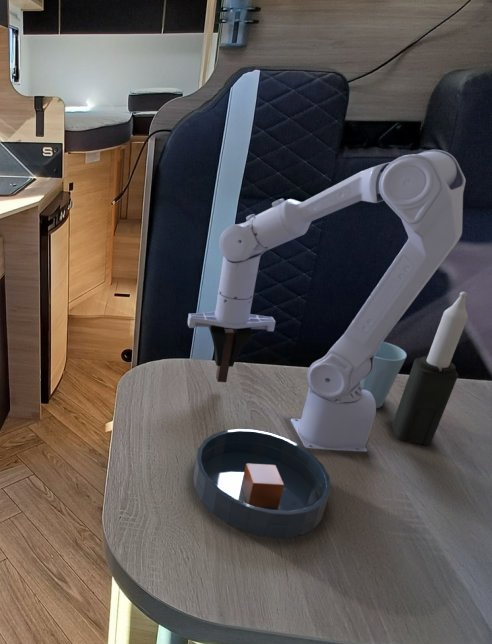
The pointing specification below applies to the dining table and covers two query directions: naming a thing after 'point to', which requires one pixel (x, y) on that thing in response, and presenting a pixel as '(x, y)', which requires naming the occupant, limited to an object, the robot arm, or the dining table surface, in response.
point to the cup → (384, 372)
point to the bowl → (266, 448)
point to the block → (262, 485)
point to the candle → (431, 381)
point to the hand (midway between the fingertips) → (223, 363)
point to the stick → (225, 357)
